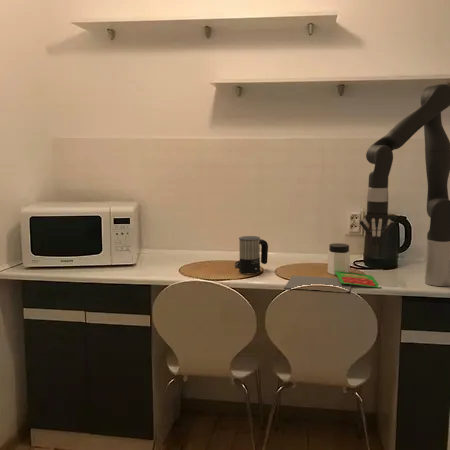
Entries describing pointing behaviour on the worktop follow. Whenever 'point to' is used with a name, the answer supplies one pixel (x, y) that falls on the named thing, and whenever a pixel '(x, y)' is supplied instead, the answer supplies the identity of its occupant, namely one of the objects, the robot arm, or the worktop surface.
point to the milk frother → (251, 254)
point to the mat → (314, 282)
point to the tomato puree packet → (357, 279)
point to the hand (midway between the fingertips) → (375, 246)
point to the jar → (338, 258)
